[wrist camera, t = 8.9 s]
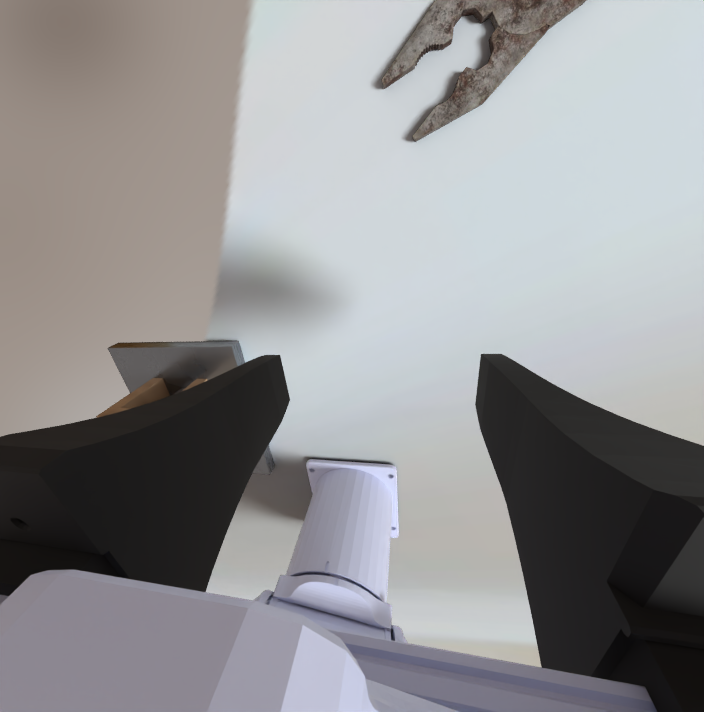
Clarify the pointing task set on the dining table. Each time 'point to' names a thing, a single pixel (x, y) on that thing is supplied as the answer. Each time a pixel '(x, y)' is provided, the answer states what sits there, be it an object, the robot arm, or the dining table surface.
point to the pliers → (507, 43)
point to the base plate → (180, 368)
